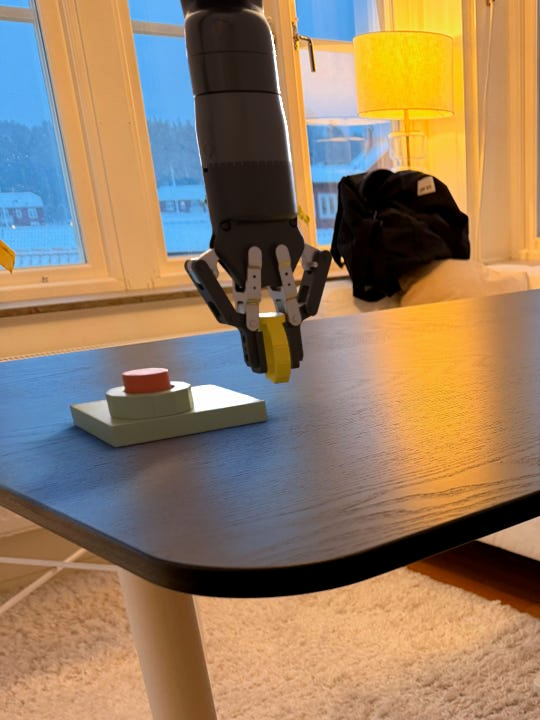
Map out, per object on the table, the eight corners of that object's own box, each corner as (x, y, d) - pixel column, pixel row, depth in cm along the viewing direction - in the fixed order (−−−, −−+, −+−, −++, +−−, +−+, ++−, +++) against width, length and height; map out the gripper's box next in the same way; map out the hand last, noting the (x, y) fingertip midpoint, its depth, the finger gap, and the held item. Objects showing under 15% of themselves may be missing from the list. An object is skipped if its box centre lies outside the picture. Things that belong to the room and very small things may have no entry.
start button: (134, 399, 70) (129, 377, 70) (120, 393, 73) (115, 372, 72) (178, 393, 72) (174, 371, 72) (163, 387, 75) (159, 366, 74)
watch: (255, 378, 85) (245, 312, 82) (283, 375, 86) (274, 310, 83) (271, 387, 80) (261, 317, 77) (301, 384, 81) (292, 315, 78)
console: (115, 447, 69) (105, 402, 68) (73, 424, 78) (64, 384, 76) (268, 420, 76) (262, 379, 74) (214, 402, 85) (207, 364, 83)
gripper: (300, 161, 81) (323, 356, 89) (149, 163, 74) (188, 376, 81) (340, 155, 76) (361, 364, 83) (181, 157, 68) (220, 386, 76)
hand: (275, 369), depth 82 cm, fingers closed on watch, 2 cm apart
